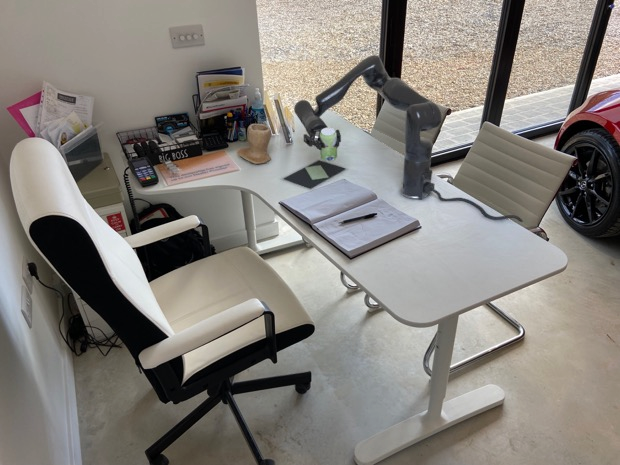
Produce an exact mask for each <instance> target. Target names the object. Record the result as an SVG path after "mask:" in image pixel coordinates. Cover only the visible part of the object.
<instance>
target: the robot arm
mask: <svg viewBox="0 0 620 465" xmlns="http://www.w3.org/2000/svg"><path fill="white" fill-rule="evenodd" d="M360 77H362V79H363V81H364V83H365V84H366V85H367V87H369V88H370V89H372V90H373V91H375V92H377V93H378V94H379V95H380V96H381V97H382V99H384V100H385V101H386V103H388V104H389V105H390V106H391V107H393V108H395V109H397V110H400V111H403V112H404V113H405V115H404V145H405V146H404V157H403V169H402V170H403V172H402V174H403V175H402V182H401V195H402V196H404V197H405V198H407V199H412V200H424V199H425V198H426V197H427V196H429V195H430V194H431V193H435V194H436V195H437V197H438V199H439V200H440V201H442V202H457V201H461V202H465V203H468V204H470V205H472V206H474V207H475V208H477V209H478V210H479V211H480V212H481V213H482V214H483V216H485V217H486V218H488V219H491V220H494V221H495V220H497V221H499V220H506V219H514V220H517V221H518V222H520V223H523V222H524V221H523V219H522V218H521V217H519V216H517V215H514V214H507V215H502V216H494V215H490V214H489V213H487V212H486V211H485V209H484V208H483V207H482V206H481V205H479V204H477V203H476V202H474V201H472V200H470V199H469V198H464V197H452V198H444V197H442V194H441V193H440V192H439V191H438V190H437V189H435V183H433V182H432V178H433V177H432V176H433V170H432V169H431V163H432V156H433V155H432V154H433V147H434V146H433V145H434V144H433V141H432V140H431V139H429V138H426V137H423V136H421V132H426V131H432V130H435V129H438V127H440V125H441V124H442V121H443V120H442V119H443V115H442V111H441V109H440V107H439V106H438V105H437V103H435V102H434V101H432V100H430V99H428V98H427V97H425V96H424V95H421V94H420V93H419V92H418V91H416V90H415V89H414V88H412V87H411V86H410V85H409V84H408V83H407V82H406V81H404V80H402V79H401V78H399V77H391V76H389V74H388V72H387V70H386V67H385V65H384V64H383V61H382V59H381V57H380V56H379V55H377V54H372V55H369V56H367V57H366V58H364V59H362V60H361V61H360V62H359V63H357V64H356V65H355V66H353V68H351V69H350V70H349V71H348V72H347V73H345V74H344V76H342V77H341V78H340V79H339V80H337V81H336V82H335V83H334V84H332V85H331V86H329V87H328V88H326V89H325V90H323V91H322V92H320V93H318V94H317V95H316V96H315V98H314V100H315V103H316V107H315V109H314V108H313V106H312V104H311V103H310V102H309V101H308V100H306V99H301V100H299V101H297V102H296V103H295V104H294V107H293V110H294V113H295V115H296V116H297V118H298V119H299V121H300V123H301V125H302V126H303V127H304V129H305V131H306V133H307V134H306V133H305V134H303V143H305V144H306V145H307V146H308V147H310V148H311V147H313V146H314V147H315V148H316V150H318V151H320V150H321V143H320V132H321V130H322V129H324V128H329V127H328V125H327V124H326V122H324V120H323V118H321V117H322V116H323V115H324V114H325V113H326V112H327V111H328V110H330V109H332V107H334V106H336V105H337V104H339V103H340V102H341V101H343V99H344V98H345V97H346V95H347V93H348V91H349V89H350V88H351V86H353V83H355V82H356V80H358V78H360ZM335 132H336V134H337V142H336V148H337V149H338V148H339V147H340V143H341V142H342V135H341V133H340V130H339V129H335Z"/></svg>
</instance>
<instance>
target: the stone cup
mask: <svg viewBox="0 0 620 465" xmlns="http://www.w3.org/2000/svg"><path fill="white" fill-rule="evenodd" d="M246 131H247V132H246V137H247V142H248V146H247V147H243V148H239V149H238V150H237V151H236V154H237V156H240V158H243V159H244V160H246V161H248V162H249V163H252V164H255V165H259V164H264V163H267V162H269V161H271V159H272V158H271V156H270V155H269V154H268V148H269V144H270V142H271V138H272V129H271V128H270V127H269V126H268V125H265V124H263V123H251V124H250V125H249V126H248V127H247V130H246Z"/></svg>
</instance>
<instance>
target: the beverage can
mask: <svg viewBox="0 0 620 465" xmlns="http://www.w3.org/2000/svg"><path fill="white" fill-rule="evenodd" d="M335 131H336V129H334V128H333V127H328V128H324V129H322V130H321V132H320V143H321V150H319V151H320V154H319V155H320V159H321V161H323V162H326V163H330V162H333V161H335V160H336V159H337V158H338V148H336V142H337V134H336V132H335Z"/></svg>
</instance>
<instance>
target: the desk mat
mask: <svg viewBox="0 0 620 465" xmlns="http://www.w3.org/2000/svg"><path fill="white" fill-rule="evenodd" d="M344 171H346V167H343V166H340V165H337V164H333V163H330V162H327V161H324V160H316V161H314V162H312V163H310V164H309V165H307V166H305V167H303V168H301V169H299V170H297V171H295V172H293V173H291V174H289V175H288V176H285V177H283V181H287V182H290V183H293V184H296V185H298V186H301V187H304V188H307V189H309V190H311V189H313V188H315V187H317V186H319V185H320V184H322V183H324V182H325V181H327V180H329V179H331V178H333V177H335V176H336V175H338V174H339V173H342V172H344Z"/></svg>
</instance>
